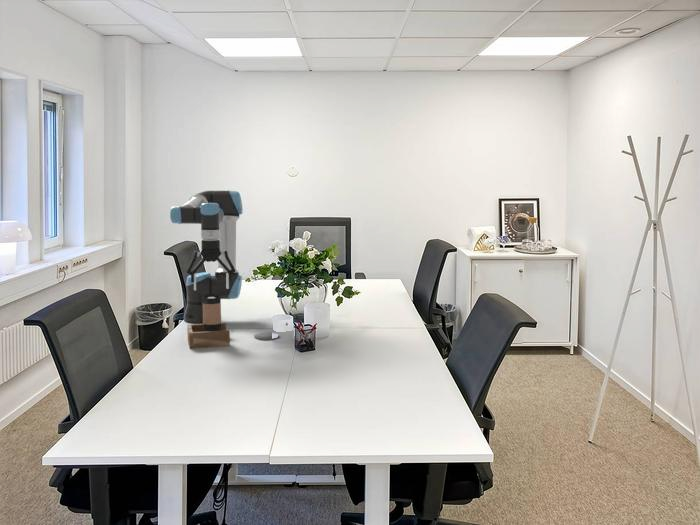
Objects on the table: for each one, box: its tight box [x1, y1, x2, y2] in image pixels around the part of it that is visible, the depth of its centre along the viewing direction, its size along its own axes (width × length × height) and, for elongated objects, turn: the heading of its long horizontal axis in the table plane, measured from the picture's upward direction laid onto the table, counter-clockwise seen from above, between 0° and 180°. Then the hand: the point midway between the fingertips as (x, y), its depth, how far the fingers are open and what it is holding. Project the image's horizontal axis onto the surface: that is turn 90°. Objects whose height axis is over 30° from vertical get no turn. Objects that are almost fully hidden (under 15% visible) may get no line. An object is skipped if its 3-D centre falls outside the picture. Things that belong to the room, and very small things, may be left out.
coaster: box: [253, 331, 273, 341], centre depth 265 cm, size 11×11×1 cm
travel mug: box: [202, 295, 222, 332], centre depth 254 cm, size 8×8×20 cm
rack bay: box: [186, 322, 231, 349], centre depth 254 cm, size 15×16×6 cm
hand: (211, 289), depth 252 cm, fingers open, 13 cm apart
